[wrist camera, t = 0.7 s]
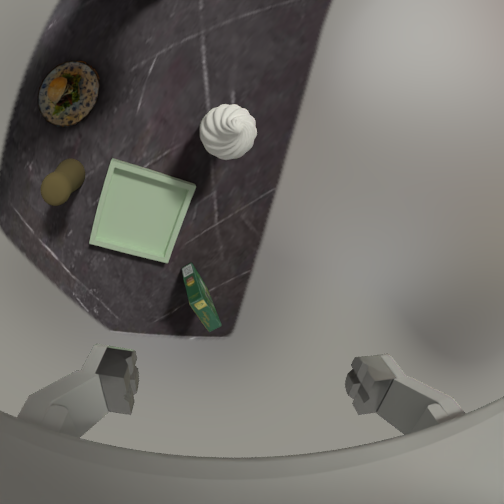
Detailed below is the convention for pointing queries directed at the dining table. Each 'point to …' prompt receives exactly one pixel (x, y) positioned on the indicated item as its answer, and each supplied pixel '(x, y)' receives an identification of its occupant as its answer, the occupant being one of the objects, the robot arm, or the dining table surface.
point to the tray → (140, 211)
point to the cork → (62, 182)
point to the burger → (68, 93)
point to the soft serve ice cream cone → (228, 131)
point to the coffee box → (200, 298)
